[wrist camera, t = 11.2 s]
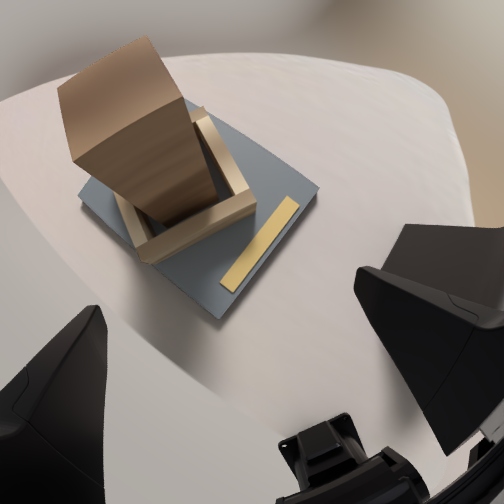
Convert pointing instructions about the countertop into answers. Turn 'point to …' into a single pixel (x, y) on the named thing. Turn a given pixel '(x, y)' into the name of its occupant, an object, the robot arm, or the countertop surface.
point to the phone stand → (452, 261)
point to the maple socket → (201, 224)
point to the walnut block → (137, 134)
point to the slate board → (232, 237)
